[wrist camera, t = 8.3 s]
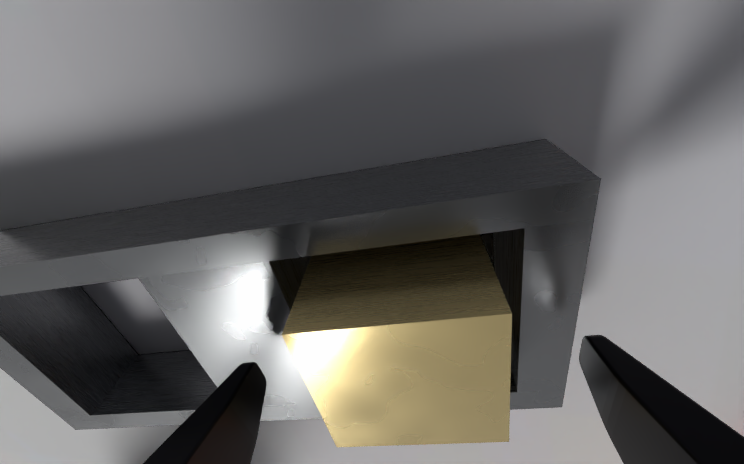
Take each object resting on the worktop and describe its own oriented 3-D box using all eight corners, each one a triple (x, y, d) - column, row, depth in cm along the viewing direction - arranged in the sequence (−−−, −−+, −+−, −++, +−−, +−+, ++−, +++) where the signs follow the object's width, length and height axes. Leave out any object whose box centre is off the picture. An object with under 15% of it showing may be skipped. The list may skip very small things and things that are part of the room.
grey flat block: (124, 369, 17) (75, 429, 14) (-4, 231, 13) (-105, 282, 10) (531, 337, 14) (562, 407, 11) (546, 139, 10) (600, 178, 7)
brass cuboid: (354, 322, 14) (336, 447, 10) (323, 223, 12) (281, 334, 7) (473, 311, 13) (509, 441, 9) (466, 203, 11) (512, 313, 7)
